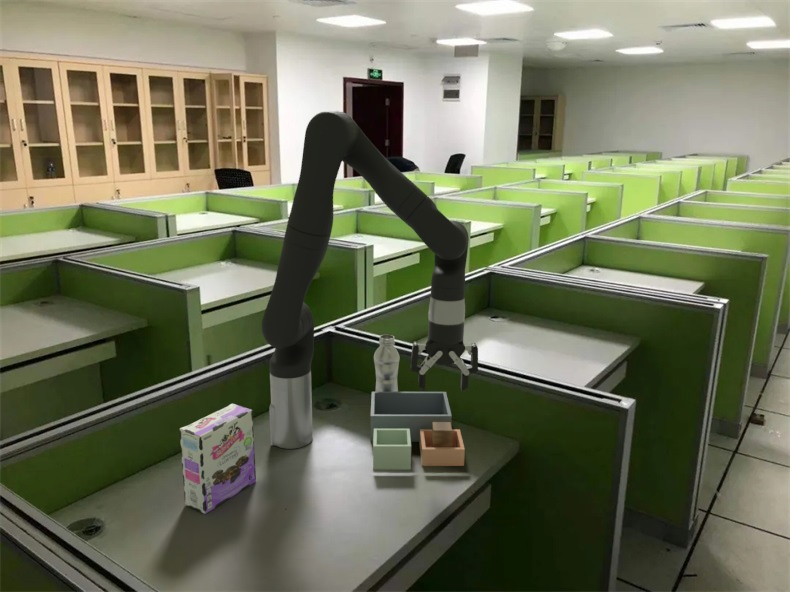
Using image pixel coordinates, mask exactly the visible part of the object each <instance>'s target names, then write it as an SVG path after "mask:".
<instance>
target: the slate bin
mask: <svg viewBox="0 0 790 592" xmlns="http://www.w3.org/2000/svg"><path fill="white" fill-rule="evenodd" d="M370 400H371V401H370V442H373V436H374V429H410V438H411V443H412V442H417V443H418V442H419V443H420V429H432V422H451V423H452V420H453V419H452V418H453V417H452V411H451V407H450V403H449V399H448V396H447V391H398V392H375V391H371V398H370Z"/></svg>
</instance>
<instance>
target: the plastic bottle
mask: <svg viewBox="0 0 790 592" xmlns="http://www.w3.org/2000/svg"><path fill="white" fill-rule="evenodd" d="M378 342H379V343H378V344H379V346H378V347H377V349H376V350H375V351H374V355H373V363H374V368H375V380H376V381H375V391H374V392H399V389H398V388H399V386H398V376H399V375H398V373H399V364H400V357H401V356H400V354H399V353H400V352H398V350H397V349H396V347H395V345H396V342H395V336H394V335H392V334H381V335H380V336H379V340H378Z"/></svg>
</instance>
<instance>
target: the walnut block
mask: <svg viewBox="0 0 790 592" xmlns="http://www.w3.org/2000/svg"><path fill="white" fill-rule="evenodd" d="M452 429H453V428H452V422H432V447H438V448H451V444H452Z"/></svg>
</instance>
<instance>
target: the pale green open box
mask: <svg viewBox="0 0 790 592" xmlns="http://www.w3.org/2000/svg"><path fill="white" fill-rule="evenodd" d="M372 445H373V446H372V470H411V469H412V465H411V464H412V442H411V438H410V429H374V436H373V441H372Z"/></svg>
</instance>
